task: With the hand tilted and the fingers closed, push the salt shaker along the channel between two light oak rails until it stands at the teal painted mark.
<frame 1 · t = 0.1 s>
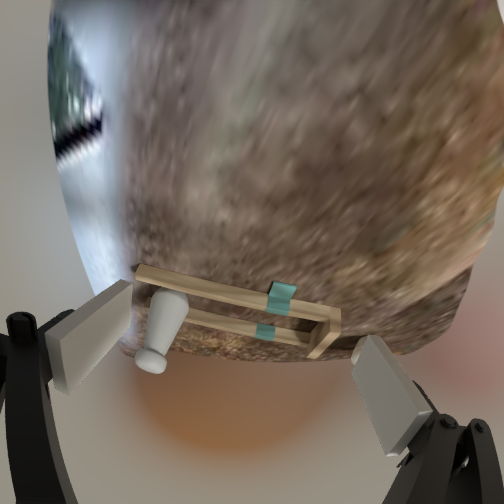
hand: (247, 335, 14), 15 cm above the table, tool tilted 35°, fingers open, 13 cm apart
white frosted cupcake: (367, 338, 44), on the table
salt shaker: (175, 290, 42), resting in guide rails
guide rails: (235, 306, 42), on the table
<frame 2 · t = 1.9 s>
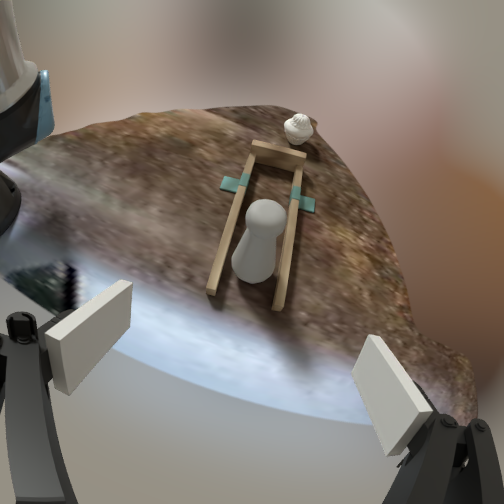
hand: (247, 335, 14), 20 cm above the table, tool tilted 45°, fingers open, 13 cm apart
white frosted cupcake: (294, 141, 57), on the table
salt shaker: (250, 271, 39), resting in guide rails
guide rails: (262, 218, 44), on the table
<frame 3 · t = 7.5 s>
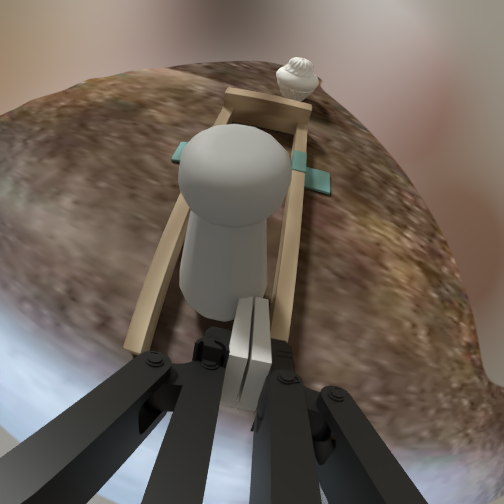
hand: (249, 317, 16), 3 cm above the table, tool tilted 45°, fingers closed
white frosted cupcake: (292, 98, 37), on the table
salt shaker: (221, 292, 21), resting in guide rails, touching gripper
guide rails: (241, 205, 25), on the table
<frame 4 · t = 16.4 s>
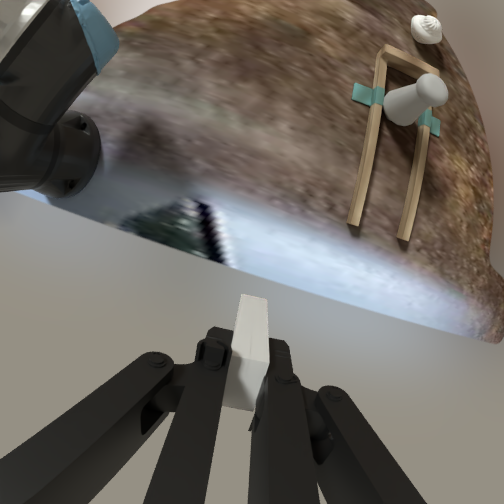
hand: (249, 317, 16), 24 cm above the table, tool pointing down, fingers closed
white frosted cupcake: (418, 37, 32), on the table
salt shaker: (393, 111, 35), resting in guide rails
guide rails: (395, 140, 36), on the table
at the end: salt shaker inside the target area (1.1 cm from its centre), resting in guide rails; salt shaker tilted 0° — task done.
